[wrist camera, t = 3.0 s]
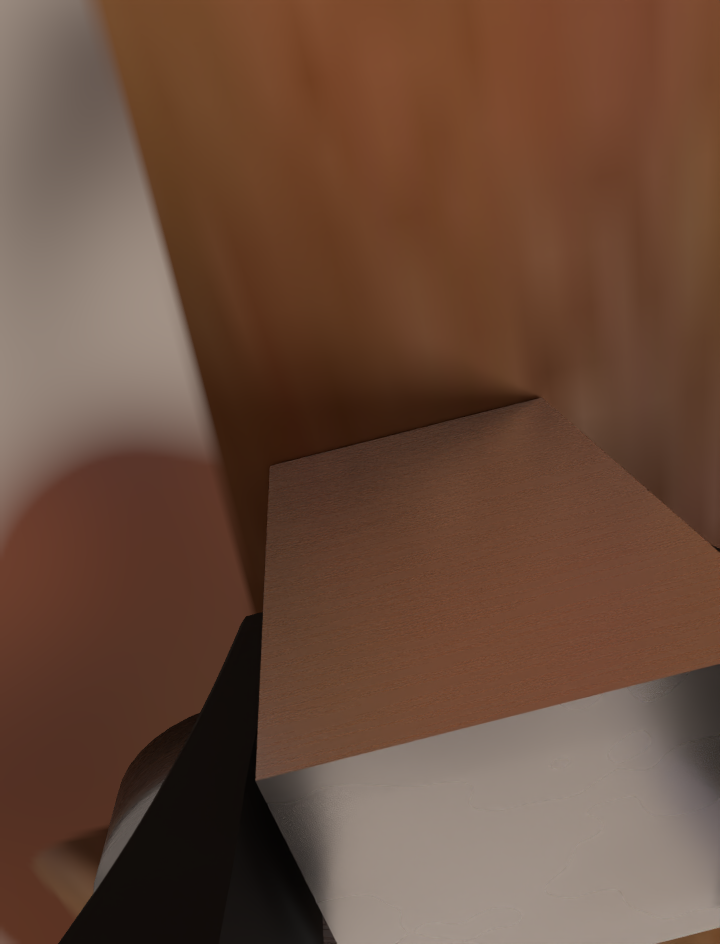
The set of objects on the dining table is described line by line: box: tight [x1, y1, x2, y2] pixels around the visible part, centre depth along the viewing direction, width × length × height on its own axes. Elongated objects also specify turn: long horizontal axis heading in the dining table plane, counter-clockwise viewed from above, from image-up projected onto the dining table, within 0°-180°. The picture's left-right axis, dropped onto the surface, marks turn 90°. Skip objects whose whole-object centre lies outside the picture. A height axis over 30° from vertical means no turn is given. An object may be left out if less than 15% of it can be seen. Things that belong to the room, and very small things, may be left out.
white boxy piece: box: [255, 398, 720, 944], centre depth 9 cm, size 5×5×6 cm
